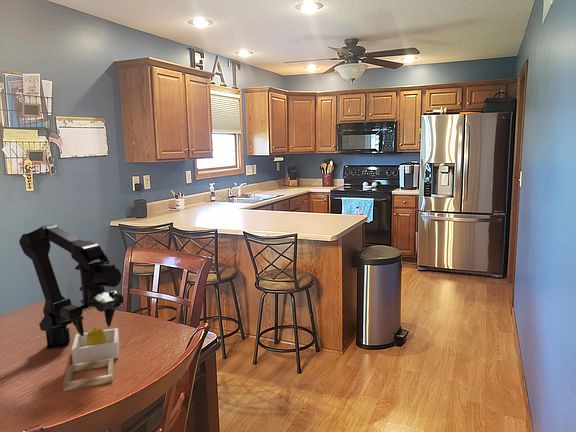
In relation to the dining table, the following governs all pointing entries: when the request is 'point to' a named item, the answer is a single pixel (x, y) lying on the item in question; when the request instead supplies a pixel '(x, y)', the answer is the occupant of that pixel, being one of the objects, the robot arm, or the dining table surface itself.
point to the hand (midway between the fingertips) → (95, 330)
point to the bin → (96, 347)
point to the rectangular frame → (89, 381)
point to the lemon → (95, 337)
